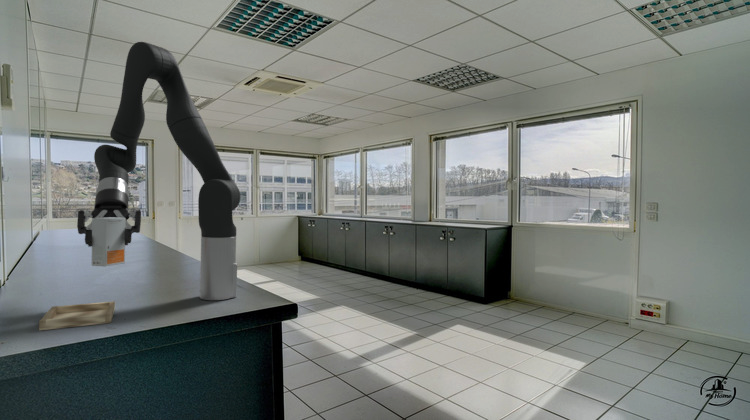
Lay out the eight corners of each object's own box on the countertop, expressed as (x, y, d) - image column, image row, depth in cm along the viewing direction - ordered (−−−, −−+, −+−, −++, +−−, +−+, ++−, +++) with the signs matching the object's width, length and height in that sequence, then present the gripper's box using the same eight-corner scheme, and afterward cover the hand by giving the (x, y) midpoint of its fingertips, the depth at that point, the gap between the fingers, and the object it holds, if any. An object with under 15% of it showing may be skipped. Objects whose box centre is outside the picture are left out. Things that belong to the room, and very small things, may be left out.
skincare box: (105, 267, 94) (105, 218, 94) (91, 266, 95) (90, 218, 95) (126, 263, 100) (126, 217, 100) (112, 262, 101) (112, 217, 101)
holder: (114, 309, 94) (115, 301, 94) (110, 322, 84) (110, 314, 84) (51, 314, 88) (52, 306, 88) (39, 330, 78) (39, 321, 78)
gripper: (78, 186, 100) (70, 235, 90) (142, 188, 107) (141, 233, 97) (81, 206, 105) (74, 254, 95) (143, 206, 112) (142, 251, 102)
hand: (108, 243), depth 96 cm, fingers closed on skincare box, 7 cm apart
